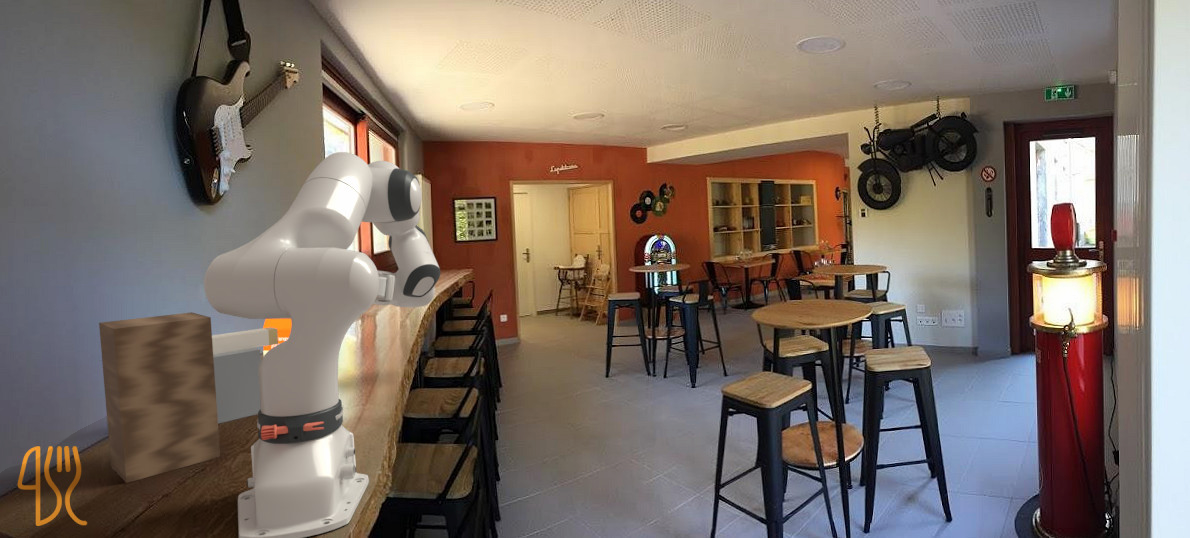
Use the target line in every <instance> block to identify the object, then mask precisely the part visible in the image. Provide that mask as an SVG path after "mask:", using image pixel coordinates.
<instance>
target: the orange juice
mask: <svg viewBox="0 0 1190 538" xmlns="http://www.w3.org/2000/svg"><path fill="white" fill-rule="evenodd" d="M291 326H292V322H291V319H264V324H263V326H262V328H268V327H272V328H276V329H277V330H278V344H280V343H282V342H284V341H286V340H288V338H289V335H290V332H291ZM278 344H275V345H269V346H263V348H262V349H263V351H262V352H263V356H264V355H265V354H266V353H267V352H268V351H269V350H270V349H272V348H273V347H275V346H277V345H278Z"/></svg>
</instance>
